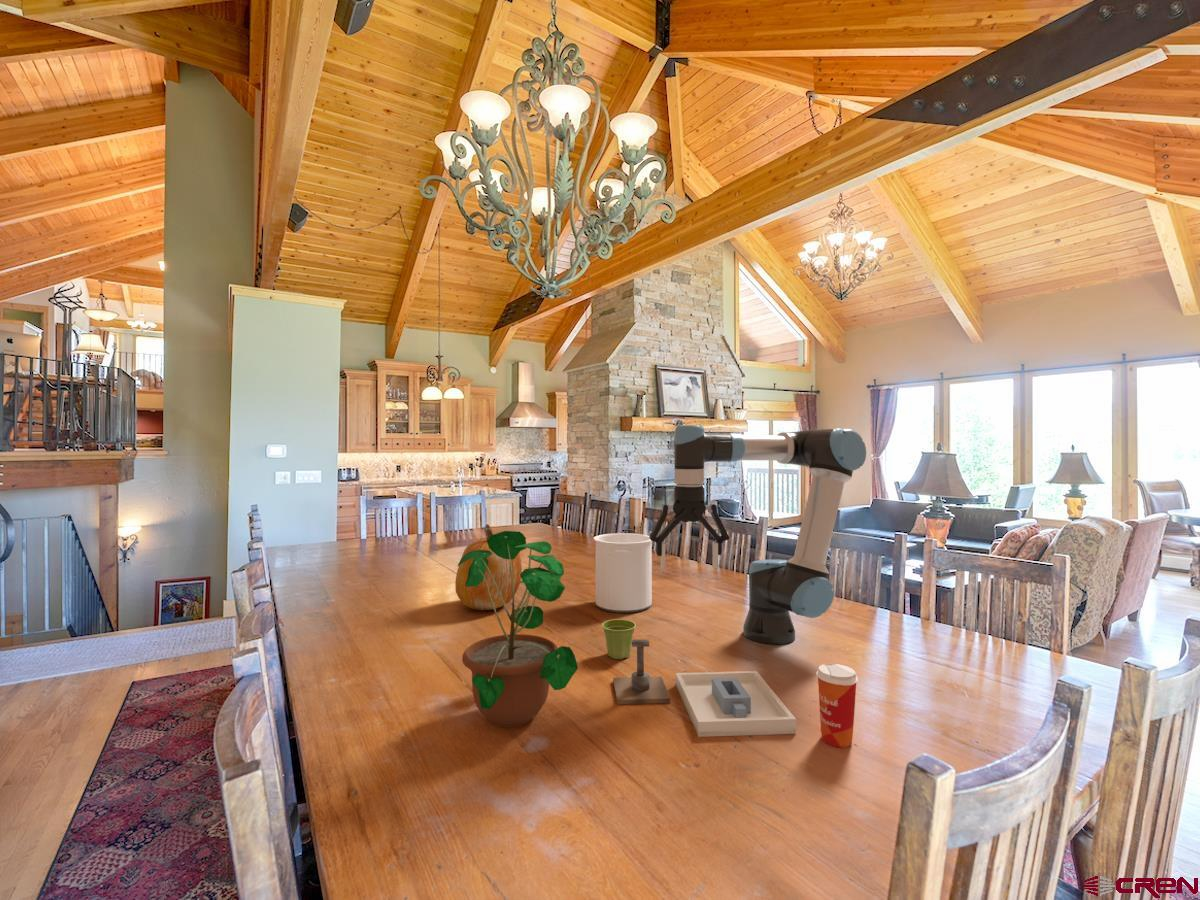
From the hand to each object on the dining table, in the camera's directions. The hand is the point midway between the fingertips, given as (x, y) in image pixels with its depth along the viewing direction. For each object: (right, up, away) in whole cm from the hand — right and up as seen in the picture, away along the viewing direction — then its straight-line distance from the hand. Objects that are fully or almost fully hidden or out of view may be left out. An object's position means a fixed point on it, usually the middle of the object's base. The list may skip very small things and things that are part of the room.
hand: (689, 568), depth 145 cm
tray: (+6, -27, -19) cm, 34 cm away
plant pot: (-18, -27, +11) cm, 34 cm away
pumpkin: (-62, -26, +59) cm, 90 cm away
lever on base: (-13, -27, -11) cm, 32 cm away
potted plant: (-39, -27, -22) cm, 52 cm away
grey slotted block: (+6, -26, -21) cm, 34 cm away
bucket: (-14, -26, +60) cm, 67 cm away
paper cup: (+24, -27, -33) cm, 49 cm away
